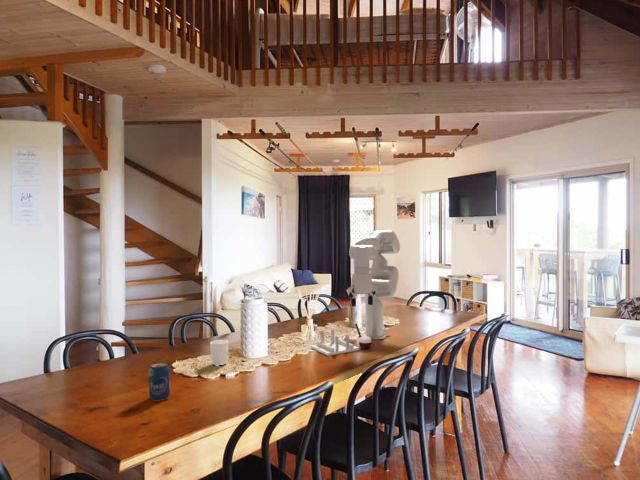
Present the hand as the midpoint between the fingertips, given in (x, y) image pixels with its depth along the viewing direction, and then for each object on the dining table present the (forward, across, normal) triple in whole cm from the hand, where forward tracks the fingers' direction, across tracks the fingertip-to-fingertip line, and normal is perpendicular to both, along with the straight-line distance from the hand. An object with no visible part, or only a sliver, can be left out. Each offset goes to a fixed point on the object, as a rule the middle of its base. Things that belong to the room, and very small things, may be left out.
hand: (362, 305), depth 217 cm
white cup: (+22, +68, -10) cm, 73 cm away
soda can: (+23, +97, +19) cm, 101 cm away
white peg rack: (+22, +12, -6) cm, 25 cm away
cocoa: (+22, -1, 0) cm, 22 cm away
